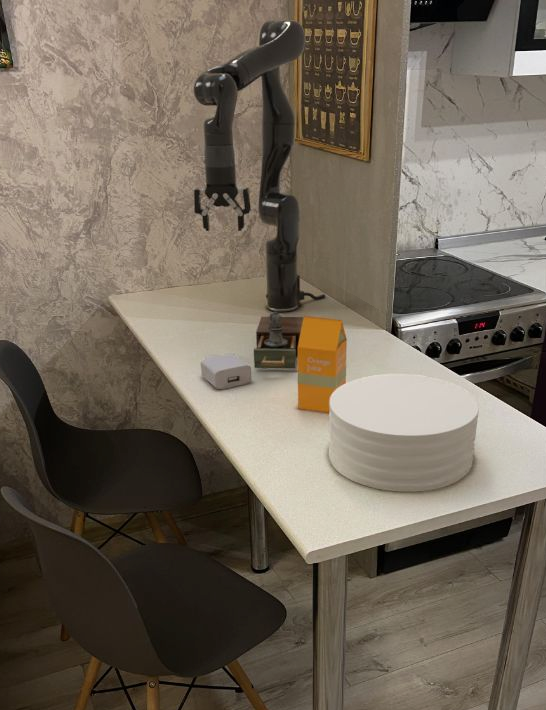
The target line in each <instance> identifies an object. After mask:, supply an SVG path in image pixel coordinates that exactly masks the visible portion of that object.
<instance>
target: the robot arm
mask: <svg viewBox="0 0 546 710" xmlns="http://www.w3.org/2000/svg"><path fill="white" fill-rule="evenodd" d="M305 46H306V32H305V29H304V27H303V25H302V24H301V23H300V22H298V21H296V20H293V19H270V20H266V21H265V22H263V23H262V25H261V27H260V30H259V35H258V45H257V46H255V47H252V48H251V47H250V48H249V49H245V50H244V51H243V50H242V51H241V52H239V53H237V54H236V55H235V56H233V57H232V58H230V59H228V61H226V62H225V63H223V64H220V65H217V66H215V67H212V68H210V69H207V70H205V71H203V72H201V73H200V74H199V75H198V76H197V77H196V79H195V81H194V82H193V83H194V84H193V96H194V99H196V101H197V102H198V103H199V104H200V105H202V106H206V107H216V109H215V113H214V115H213V116H211V117H207V118H206V119H204V121H203V126H202V127H203V141H204V152H203V157H204V158H203V163H204V170H205V188H200V187H196V188H195V189H194V190H193V200H194V201H193V202H194V204H193V205H194V213H195V214H197V215H200V216H201V218H202V228H203V230H205V231H206V232H209V231H210V229H211V225H210V214H209V211H210V210H211V209H212V208H213V206H214V207H216V208H218V207H223V208H224V207H225V208H228V207H231V208H232V209H233V210H234V211H235V213H236V214H237V231H238V232H242V230H243V229H244V227H245V215H247V214H250V212H251V209H252V208H251V198H250V189H249V187H244V188H238V187H237V178H236V155H235V149H234V137H233V123H234V118H235V111H236V106H237V102H238V92H241V91H243V90H244V89H247V87H248V86H251V84H252V83H254V82H255V81H256V80H258V79H259V78H260V79H261V165H260V166H261V167H260V168H261V170H260V182H259V192H258V203H257V204H258V206H257V207H258V216H259V219H260V221H261V222H262V223H263V224H264V225H266V226H272V227H276V235H275V237H271V238H268V239H267V240H266V241H265V271H266V272H265V275H266V295H265V297H266V298H265V299H266V302H267V303H266V309H268V310H269V311H271V312H274V310H275V309H276V312H277V313H286V312H292V311H295V310H298V308H299V307H301V301H304V300H305V297H310V298H311V299H313V300H321V299H324V298H326V294H321V295H318V296H316V295H314V294H313V293H310V292H305V291H303V290H301V276H300V275H299V274H298V243H299V240H300V225H301V224H300V222H301V221H300V220H301V206H300V203H299V200H298V198H297V197H296V196H295V195H294V194H291V193H285V192H281V187H280V186H281V176H282V172H283V169H284V166H285V164H286V163H287V161H288V159H289V157H290V155H291V153H292V150H293V149H294V145H295V139H296V115H295V114H296V113H295V111H294V109H293V105H292V103H291V102H290V100H289V97H288V96H287V94H286V91H285V88H284V86H283V82H282V78H281V70H280V67H281V66H282V65H285V64H287V63H290V62H293V61H295V60H297V59H299V58H300V57H301V56H302V54H303V52H304V51H305V48H306V47H305ZM204 194H205V196H206V198H207V199H208V200H209V201H208V202H207V204H206V205H205V207H204V208H202V203H201V201H202V198H203V197H204ZM238 195H239V196H240V198H242V199H243V207H244V208H242V207H241V205H240V203H239V202H238V201H237V199H236V197H238Z"/></svg>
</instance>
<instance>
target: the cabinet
mask: <svg viewBox="0 0 546 710" xmlns="http://www.w3.org/2000/svg"><path fill="white" fill-rule="evenodd" d="M303 317H304V316H281V326H283V328H282V335H296V357H298V349H297V346H298V343H299V338H300V333H301V328H302V322H303ZM269 326H270V316H261V317H260V319H259V322H258V326H257V329H256V331H255V338H256V348H257V347H258V344H259V341H260V337H261V335H270V329H269V328H268V327H269Z"/></svg>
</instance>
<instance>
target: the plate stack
mask: <svg viewBox="0 0 546 710" xmlns="http://www.w3.org/2000/svg"><path fill="white" fill-rule="evenodd" d="M479 405H480V404H479V402H478V400H477V398H476V397H475V396H474V395H473V394H472V393H471V392H470V391H468V390H467V389H465V388H464V387H462V386H460V385H458V384H455V383H453V382H451V381H447V380H445V379H442V378H438V377H433V376H428V375H421V374H410V373H384V374H383V373H381V374H374V375H373V374H372V375H367V376H363V377H359V378H356V379H353V380H350V381H347V382H346V383H345V384H343V385H342V386H340V387H339V388H337V389H336V390H335V391H334V392H333V393H332V395H331V397H330V401H329V409H330V412H329V413H328V421H329V423H328V432H329V435H328V458H329V461H330V463H331V465H332V467H333V468H334V469H335V470H336V472H338V473H340V474H341V475H342V476H343V477H345V478H347V479H349V480H350V481H352V482H355V483H357V484H360V485H363V486H365V487H369V488H371V489H376V490H383V491H390V492H400V493H401V492H402V493H403V492H404V493H405V492H406V493H413V492H414V493H415V492H426V491H432V490H437V489H441V488H444V487H448V486H450V485H453V484H454V483H456V482H458V481H460V480H462V479H463V478H464V477H465V476H467V474H468V473H469V472H470V470H471V469H472V466H473V460H474V452H475V442H476V437H477V436H476V435H477V429H478V418H479V412H480V406H479Z"/></svg>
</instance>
